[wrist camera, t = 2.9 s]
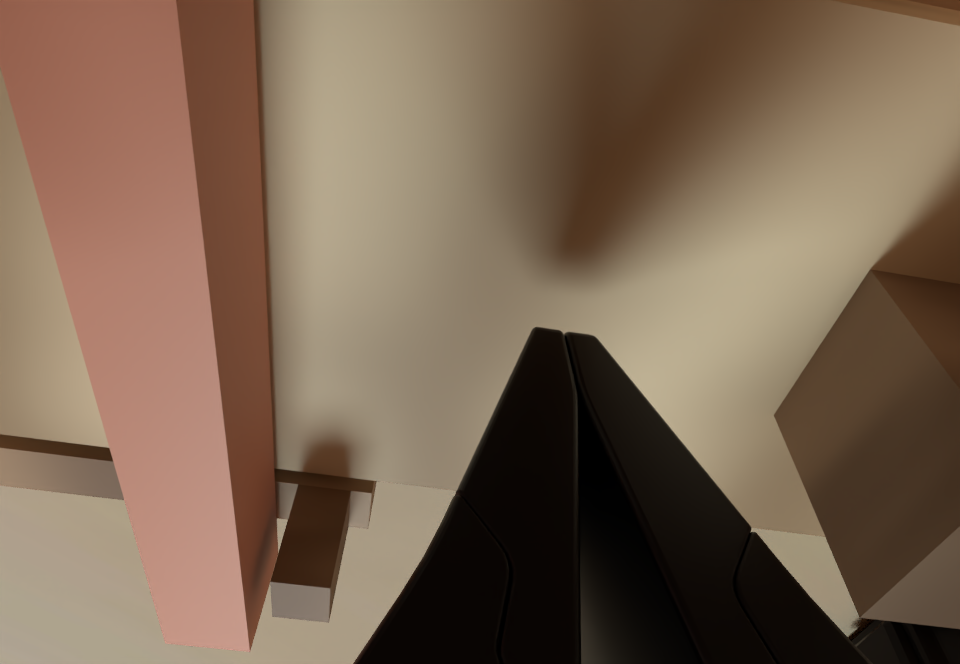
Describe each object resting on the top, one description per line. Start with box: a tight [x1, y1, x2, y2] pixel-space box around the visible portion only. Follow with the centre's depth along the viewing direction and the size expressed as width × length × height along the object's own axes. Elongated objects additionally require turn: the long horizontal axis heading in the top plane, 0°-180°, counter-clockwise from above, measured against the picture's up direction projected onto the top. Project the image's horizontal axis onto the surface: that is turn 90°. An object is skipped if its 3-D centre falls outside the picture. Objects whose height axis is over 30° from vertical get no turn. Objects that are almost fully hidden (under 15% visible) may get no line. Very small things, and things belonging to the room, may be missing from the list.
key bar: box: [0, 0, 278, 652], centre depth 8 cm, size 2×14×2 cm, turn 170°
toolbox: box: [0, 0, 960, 623], centre depth 11 cm, size 20×12×7 cm, turn 80°
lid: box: [0, 0, 960, 629], centre depth 9 cm, size 20×9×4 cm, turn 80°
